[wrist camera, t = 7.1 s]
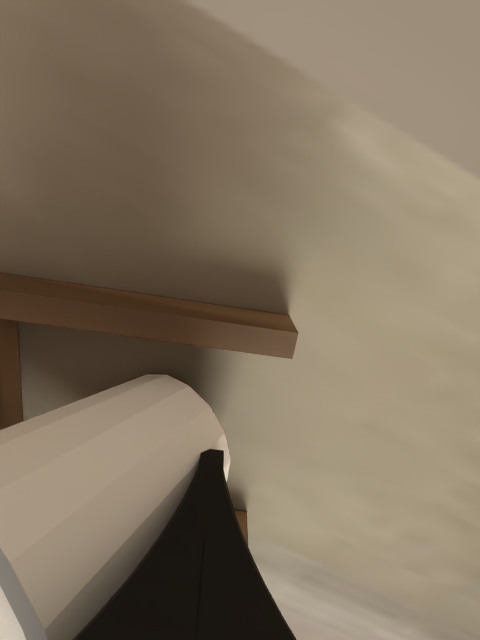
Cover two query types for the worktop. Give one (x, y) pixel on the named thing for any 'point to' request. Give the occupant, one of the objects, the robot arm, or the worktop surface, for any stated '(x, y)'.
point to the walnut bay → (128, 327)
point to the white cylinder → (92, 498)
